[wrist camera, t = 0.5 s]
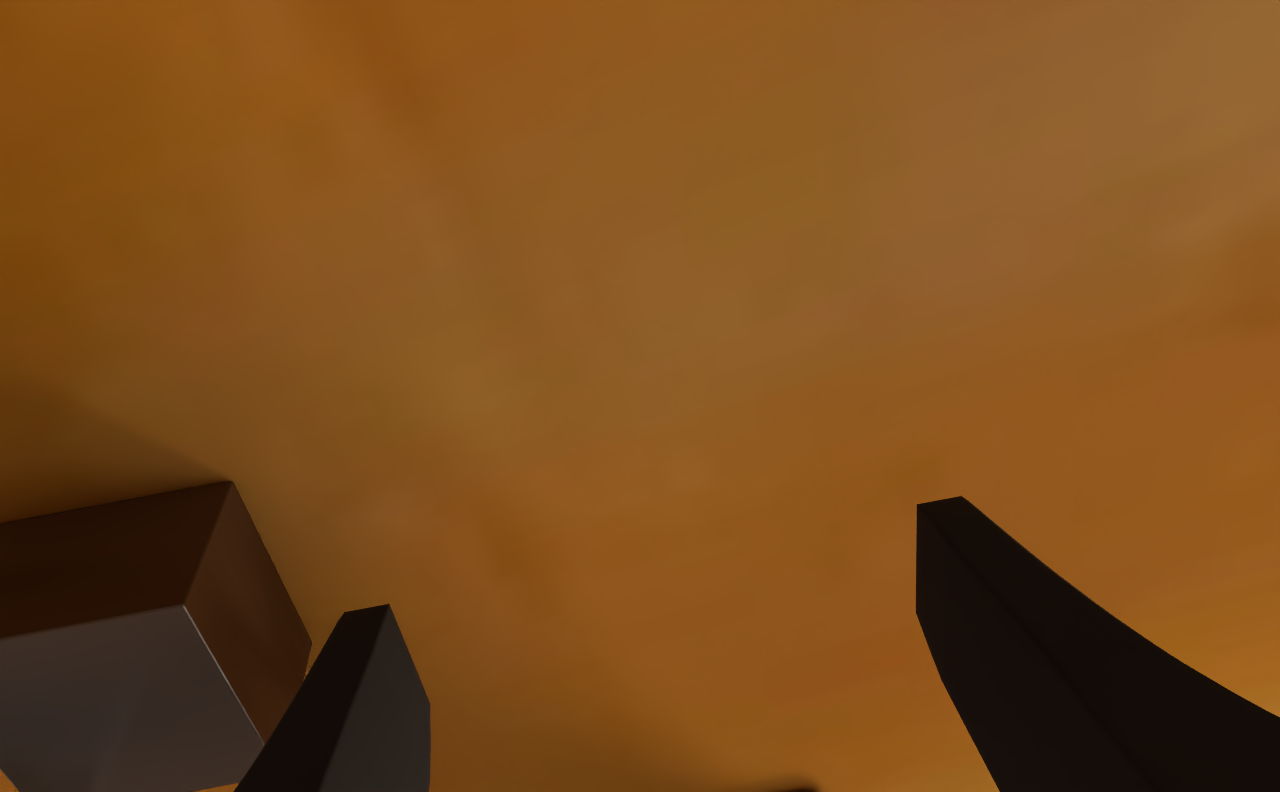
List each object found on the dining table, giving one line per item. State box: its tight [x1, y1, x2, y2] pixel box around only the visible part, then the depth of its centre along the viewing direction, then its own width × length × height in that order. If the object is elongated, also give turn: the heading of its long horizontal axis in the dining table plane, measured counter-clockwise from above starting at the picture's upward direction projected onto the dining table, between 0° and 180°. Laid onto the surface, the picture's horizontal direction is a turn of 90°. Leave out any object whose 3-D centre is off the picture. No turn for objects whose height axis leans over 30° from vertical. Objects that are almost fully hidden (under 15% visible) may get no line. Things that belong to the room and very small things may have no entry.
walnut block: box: [0, 481, 312, 792], centre depth 22 cm, size 6×6×4 cm
